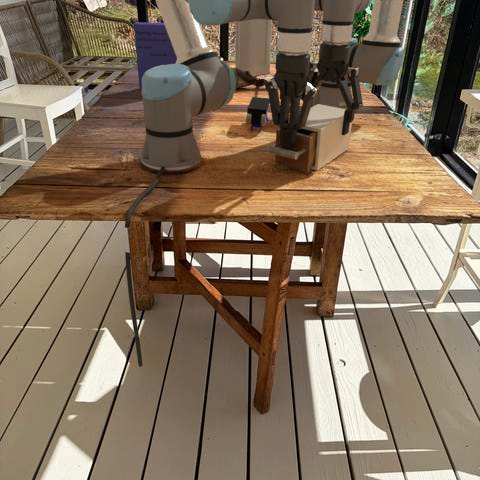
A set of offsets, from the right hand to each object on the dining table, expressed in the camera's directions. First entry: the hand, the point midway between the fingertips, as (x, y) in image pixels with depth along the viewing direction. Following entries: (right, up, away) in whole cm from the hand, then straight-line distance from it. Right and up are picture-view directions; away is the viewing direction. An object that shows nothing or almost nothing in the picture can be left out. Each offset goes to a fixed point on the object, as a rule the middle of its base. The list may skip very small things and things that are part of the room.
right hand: (325, 129), depth 129 cm
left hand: (-12, -9, -13) cm, 20 cm away
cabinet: (-3, -7, 0) cm, 7 cm away
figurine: (-20, +31, +63) cm, 73 cm away
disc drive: (+5, +41, +79) cm, 89 cm away
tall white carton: (-17, +46, +88) cm, 101 cm away
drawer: (-7, -9, -6) cm, 13 cm away
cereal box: (-54, +29, +59) cm, 85 cm away
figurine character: (-18, +6, +21) cm, 28 cm away
